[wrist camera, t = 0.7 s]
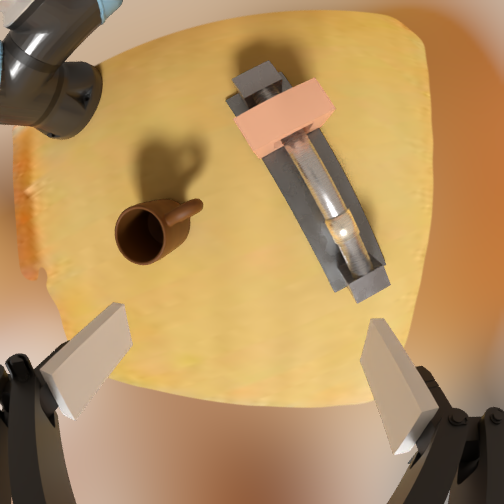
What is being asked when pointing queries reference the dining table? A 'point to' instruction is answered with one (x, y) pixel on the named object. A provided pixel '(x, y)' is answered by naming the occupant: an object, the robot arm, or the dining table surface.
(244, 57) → the dining table surface
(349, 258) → the pipe rig
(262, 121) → the collar
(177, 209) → the mug
